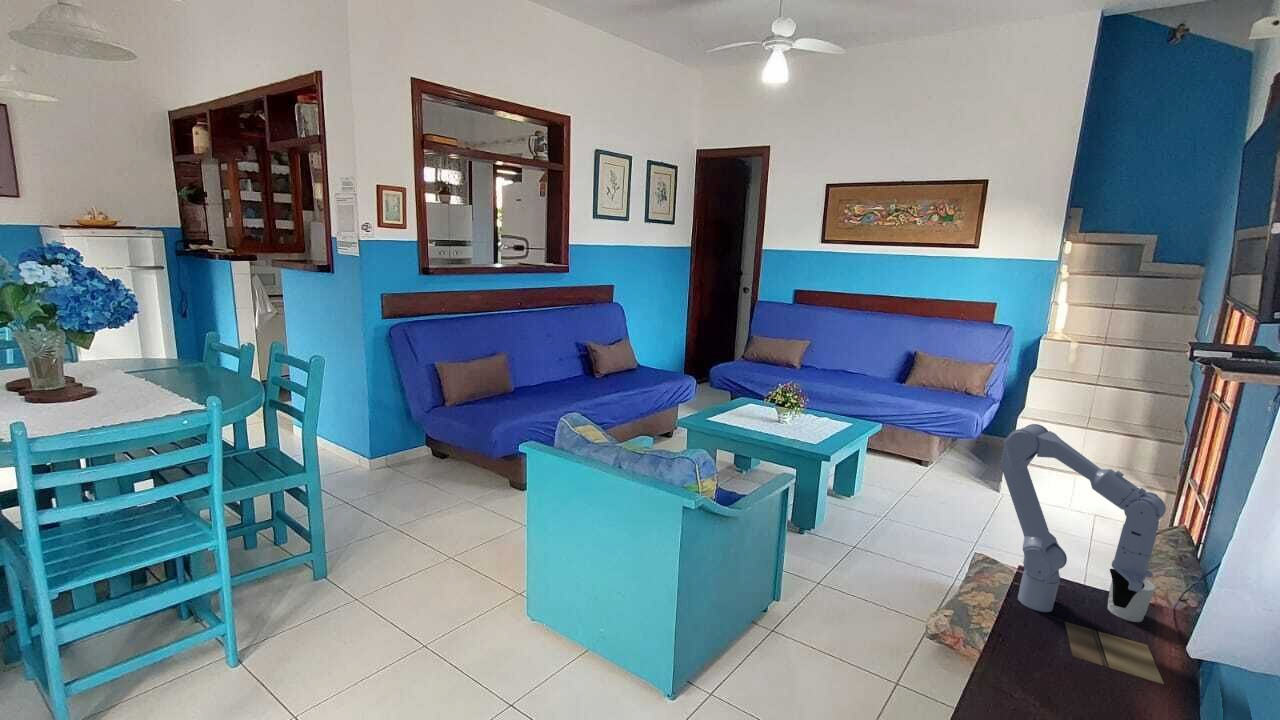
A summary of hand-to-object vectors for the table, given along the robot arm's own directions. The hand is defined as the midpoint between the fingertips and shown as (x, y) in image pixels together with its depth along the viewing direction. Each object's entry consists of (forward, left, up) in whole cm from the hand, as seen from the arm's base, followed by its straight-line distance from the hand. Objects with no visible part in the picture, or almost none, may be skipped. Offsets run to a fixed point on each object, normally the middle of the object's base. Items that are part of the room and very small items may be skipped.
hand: (1119, 605), depth 140 cm
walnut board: (+6, -6, -9) cm, 12 cm away
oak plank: (+6, +2, -9) cm, 11 cm away
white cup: (-14, +5, -10) cm, 18 cm away
